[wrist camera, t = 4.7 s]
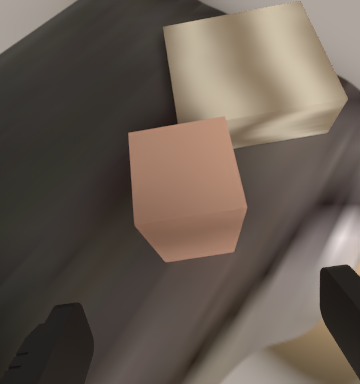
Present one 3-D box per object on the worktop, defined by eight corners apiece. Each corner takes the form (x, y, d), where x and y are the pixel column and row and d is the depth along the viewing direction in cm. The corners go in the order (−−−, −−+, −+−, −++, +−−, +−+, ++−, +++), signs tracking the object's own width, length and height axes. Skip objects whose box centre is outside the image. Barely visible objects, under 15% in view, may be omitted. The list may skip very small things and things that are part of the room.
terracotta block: (165, 262, 21) (134, 225, 13) (158, 199, 23) (128, 132, 15) (234, 252, 21) (247, 207, 12) (221, 189, 23) (225, 116, 14)
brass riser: (183, 156, 24) (178, 128, 21) (169, 63, 29) (162, 26, 25) (327, 132, 24) (348, 98, 20) (289, 41, 28) (300, 0, 25)
